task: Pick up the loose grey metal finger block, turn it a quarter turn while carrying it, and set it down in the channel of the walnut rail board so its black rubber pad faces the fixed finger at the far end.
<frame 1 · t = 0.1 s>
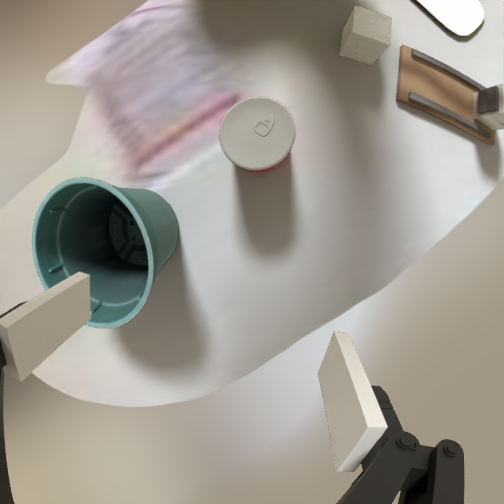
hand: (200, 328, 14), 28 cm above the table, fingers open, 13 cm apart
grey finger: (357, 47, 33), on the table
flower pot: (143, 229, 42), on the table
canned food: (260, 144, 38), on the table
rail board: (450, 95, 33), on the table
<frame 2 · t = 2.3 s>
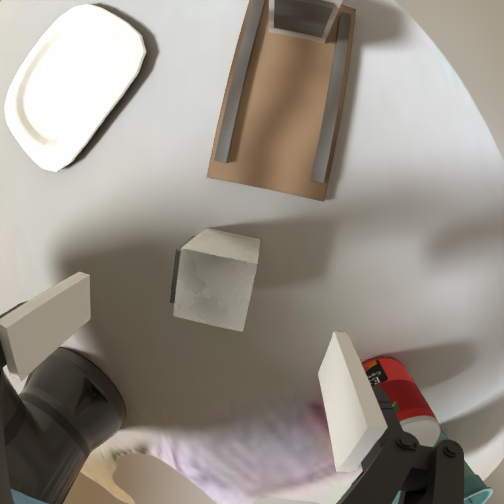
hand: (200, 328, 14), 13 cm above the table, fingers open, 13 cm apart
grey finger: (228, 259, 27), on the table
flower pot: (412, 450, 33), on the table
canned food: (374, 380, 30), on the table
plate: (68, 81, 24), on the table
rail board: (287, 82, 23), on the table
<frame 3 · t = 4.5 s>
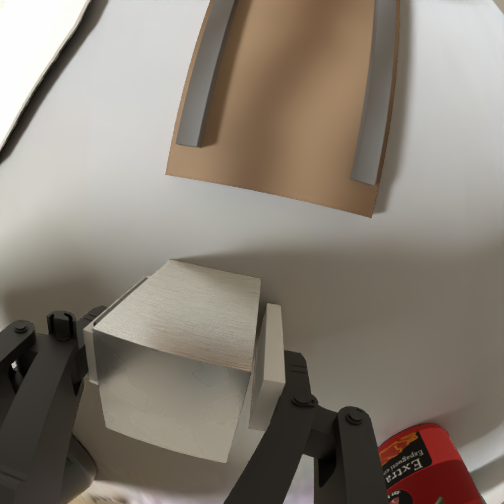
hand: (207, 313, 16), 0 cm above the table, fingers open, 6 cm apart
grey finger: (208, 310, 16), on the table, touching gripper
canned food: (407, 447, 19), on the table
plate: (6, 56, 13), on the table
rail board: (304, 21, 12), on the table
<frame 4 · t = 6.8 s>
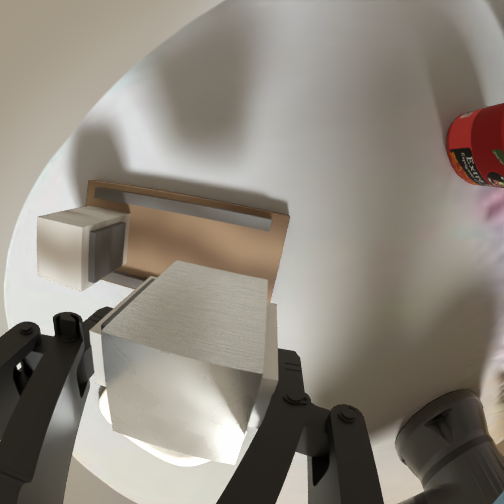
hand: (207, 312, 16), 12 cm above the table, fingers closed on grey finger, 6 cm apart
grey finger: (214, 311, 16), point 12 cm above the table, touching gripper
canned food: (469, 149, 23), on the table
plate: (169, 415, 34), on the table
rail board: (174, 245, 28), on the table
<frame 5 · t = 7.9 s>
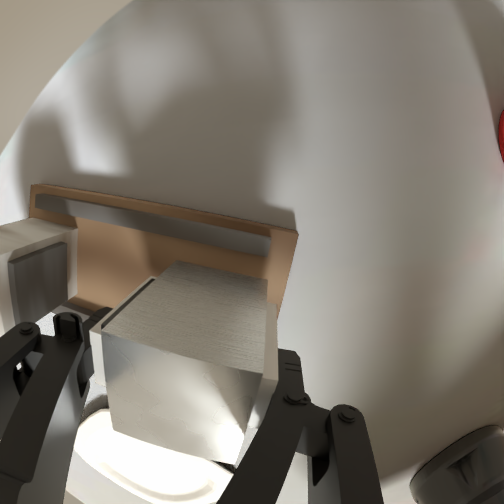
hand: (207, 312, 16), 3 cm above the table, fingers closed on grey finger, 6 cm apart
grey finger: (214, 311, 16), point 3 cm above the table, touching gripper
plate: (150, 460, 26), on the table
rail board: (136, 271, 19), on the table
when the fingers open (3 cm above the table, at t = 8.8 s): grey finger drops 1 cm, resting on rail board.
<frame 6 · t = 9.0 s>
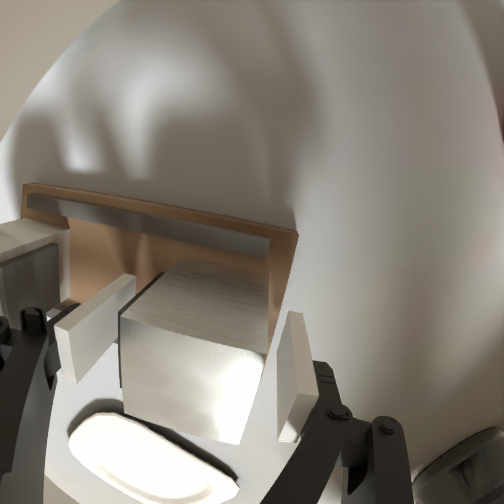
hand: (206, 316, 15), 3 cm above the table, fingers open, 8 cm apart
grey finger: (218, 304, 17), point 1 cm above the table, touching rail board
plate: (148, 464, 25), on the table
rail board: (130, 273, 19), on the table
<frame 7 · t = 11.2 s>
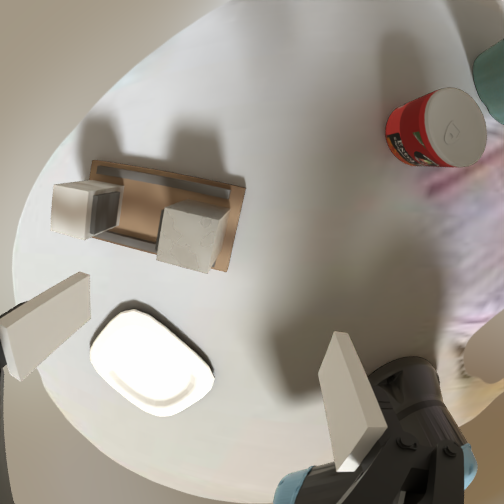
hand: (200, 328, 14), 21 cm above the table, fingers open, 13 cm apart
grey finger: (204, 224, 33), point 1 cm above the table, touching rail board
flower pot: (497, 88, 26), on the table
canned food: (409, 135, 30), on the table
plate: (149, 364, 42), on the table
rail board: (157, 211, 34), on the table
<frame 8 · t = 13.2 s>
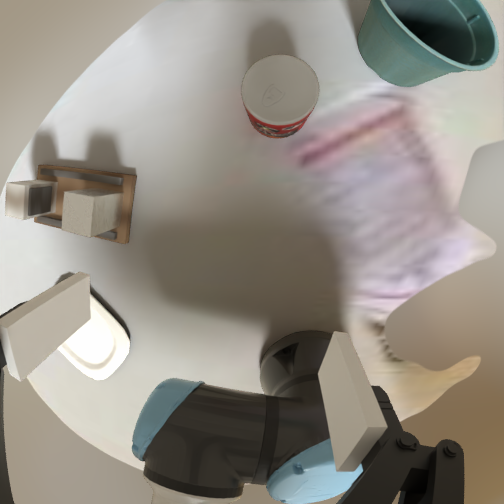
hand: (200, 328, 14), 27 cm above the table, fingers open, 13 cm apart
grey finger: (107, 206, 39), point 1 cm above the table, touching rail board
flower pot: (393, 52, 32), on the table
canned food: (278, 111, 36), on the table
plate: (85, 330, 47), on the table
rail board: (80, 200, 40), on the table
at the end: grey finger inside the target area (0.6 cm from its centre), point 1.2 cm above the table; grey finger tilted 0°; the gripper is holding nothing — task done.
